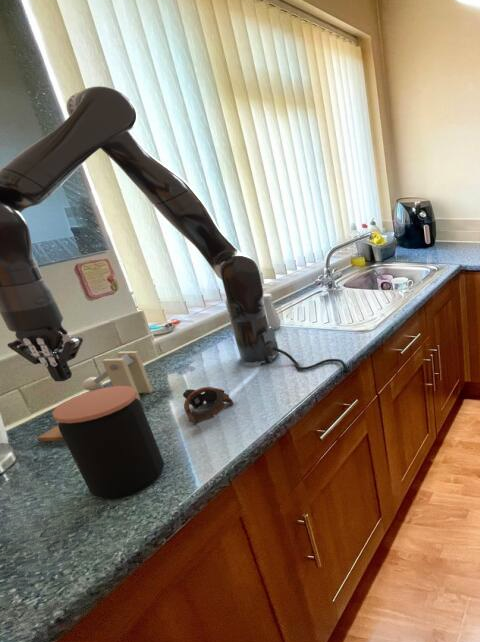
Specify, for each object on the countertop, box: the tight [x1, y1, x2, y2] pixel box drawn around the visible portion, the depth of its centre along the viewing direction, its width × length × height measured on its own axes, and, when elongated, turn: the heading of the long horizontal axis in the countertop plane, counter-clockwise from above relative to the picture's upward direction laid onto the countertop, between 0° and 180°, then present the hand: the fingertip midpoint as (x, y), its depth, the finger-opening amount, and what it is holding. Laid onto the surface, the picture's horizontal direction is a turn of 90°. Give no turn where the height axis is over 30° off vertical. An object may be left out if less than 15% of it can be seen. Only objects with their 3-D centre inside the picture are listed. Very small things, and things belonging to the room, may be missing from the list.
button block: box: [36, 422, 65, 442], centre depth 90 cm, size 11×9×4 cm
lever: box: [82, 354, 134, 392], centre depth 100 cm, size 14×3×3 cm
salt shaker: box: [263, 293, 282, 331], centre depth 145 cm, size 6×6×13 cm
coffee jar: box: [51, 386, 165, 500], centre depth 74 cm, size 11×11×18 cm
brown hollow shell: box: [182, 386, 234, 426], centre depth 97 cm, size 12×10×8 cm
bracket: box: [101, 350, 154, 401], centre depth 101 cm, size 10×8×13 cm
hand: (63, 379), depth 86 cm, fingers closed
